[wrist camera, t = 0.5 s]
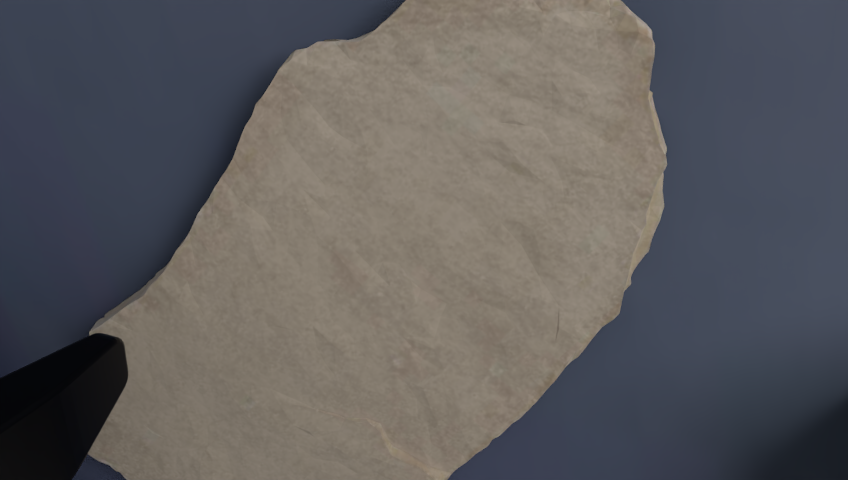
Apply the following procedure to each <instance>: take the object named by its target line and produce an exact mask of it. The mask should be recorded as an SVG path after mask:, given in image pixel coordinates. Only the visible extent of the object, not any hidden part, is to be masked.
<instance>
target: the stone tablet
mask: <svg viewBox="0 0 848 480" xmlns="http://www.w3.org/2000/svg"><path fill="white" fill-rule="evenodd" d="M654 52H655V44H654V42H653V39H652V30H651V29H650V28H649V27H648V26H647V25H646V23H644V22H643V21H642V20H641V19H640V18H639V17H637V16H636V15H635V14H634V13H633V12H632V11H631V10H630V9H629V8H628V7H627V6H626V5H625V4H624V3H623V2H622V1H621V0H405V1H404V2H403V4H402V5H401V6H400V7H399V8H398V9H397V10H396V11H395V12H394V13H393V14H392V15H391V16H390V17H389V18H388V19H387V20H385V21H384V22H383V23H381V24H380V25H379V27H378V28H377V29H376V30H374V31H372V32H370V33H367V34H365V35H363V36H361V37H358V38H355V39H351V40H337V39H334V40H324V42H316V43H315V44H313V45H311V46H310V47H308V48H303V49H300V50H295V51H294V52H293V53H292V54H291V55H290V56H289V57H288V59H287V60H286V61H285V62H284V64H283V65H282V66H281V67H280V69H279V70H278V72H277V74H276V75H275V77H274V79H273V81H272V82H271V84H270V85H269V87H268V89H267V90H266V92H265V93H264V95H263V96H262V98H261V99H260V100H259V101H258V102H257V103H256V105H255V108H254V111H253V114H252V117H251V118H250V120H249V121H248V123H247V124H246V126H245V127H244V130H243V132H242V135H241V138H240V140H239V143H238V145H237V148H236V151H235V154H234V156H233V159H232V161H231V163H230V164H229V166H228V168H227V170H226V171H225V173H224V174H223V175H222V177H221V178H220V180H219V182H218V183H217V185H216V186H215V188H214V189H213V191H212V193H211V195H210V197H209V199H208V200H207V202H206V203H205V204H204V206H203V207H202V209H201V210H200V211H199V213H198V214H197V217H196V219H195V221H194V224H193V226H192V228H191V230H190V232H189V234H188V236H187V237H186V238H185V239H184V241H183V242H182V243H181V244H180V246H179V247H178V249H177V250H176V252H175V254H174V255H173V257H172V258H171V260H170V261H169V263H168V264H167V265H166V266H165V267H164V268H163V269H161V270H160V271H159V272H158V273H156V275H155V277H154V278H153V279H151V280H150V281H148V282H147V284H146V285H145V286H144V287H143V288H142V289H140V290H139V291H138V292H136V293H135V294H133V295H132V296H131V297H129V298H128V299H126V300H125V301H123V302H122V303H121V304H119V305H118V306H117V307H115V308H114V309H112V310H111V311H109V312H108V313H106V314H105V316H104V318H101V319H99V320H98V321H97V322H96V323H95V325H94V326H93V328H92V329H91V330H90V332H89V336H90V335H92V334H95V333H104V334H108V335H111V336H115V337H119V338H121V339H122V341H123V342H124V345H125V352H126V358H127V365H128V380H127V383H126V386H125V388H124V390H123V392H122V394H121V395H120V397H119V399H118V401H117V402H116V404H115V406H114V408H113V410H112V411H111V413H110V415H109V417H108V418H107V420H106V422H105V424H104V426H103V427H102V429H101V431H100V433H99V435H98V436H97V438H96V440H95V442H94V443H93V445H92V447H91V449H90V451H89V452H88V455H90V456H91V457H93V458H95V459H96V460H98V461H99V462H102V463H105V464H108V465H110V466H111V467H112V468H113V469H114V470H115V471H117V472H120V473H121V474H122V475H123V477H124V478H126V479H127V480H447V479H448V478H449V477H450V475H451V474H452V473H453V472H454V471H455V470H456V469H457V468H459V467H460V466H462V465H463V464H465V463H466V462H467V461H469V460H470V459H471V458H472V457H473V456H474V455H475V454H476V453H478V452H479V451H481V450H483V449H484V448H486V447H487V446H488V445H489V444H490V442H491V441H492V439H494V438H496V437H498V436H500V435H501V434H502V433H503V432H504V431H505V430H506V429H507V428H508V427H509V426H510V425H511V424H512V423H514V422H515V421H517V420H518V419H520V418H521V417H522V416H523V415H524V414H525V413H526V412H527V411H528V410H529V409H530V408H531V407H532V406H533V405H534V404H535V403H536V402H537V401H538V399H539V398H540V397H541V396H542V395H543V393H544V392H545V391H546V390H547V389H548V388H549V387H550V386H551V385H552V383H553V382H554V381H555V380H556V379H557V378H558V376H559V375H560V374H561V372H562V371H563V370H564V368H565V367H566V366H567V365H568V364H569V363H570V362H571V361H573V360H574V359H576V358H577V357H579V355H580V354H581V353H582V352H583V350H584V349H585V348H586V346H587V345H588V344H589V342H590V341H591V340H592V338H593V337H594V336H595V335H596V334H597V332H598V331H599V330H600V329H601V327H603V326H604V325H606V324H607V323H609V322H610V321H612V320H613V319H614V318H615V317H616V316H617V315H618V314H619V313H620V308H621V303H622V298H623V293H624V291H625V290H626V289H627V288H628V287H629V286H630V284H631V275H632V273H633V271H634V269H635V268H636V266H637V265H638V263H639V262H640V261H641V259H642V258H643V257H644V256H645V254H646V253H648V252H649V248H650V245H651V240H652V237H653V235H654V232H655V230H656V228H657V225H658V223H659V221H660V219H661V214H662V211H663V208H664V200H663V193H662V188H663V177H664V175H663V171H664V169H665V168H666V165H667V160H666V156H665V155H666V152H667V147H666V144H665V141H664V138H663V135H662V132H661V127H660V123H659V119H658V116H657V113H656V110H655V106H654V102H653V98H652V94H653V93H652V92H651V91H650V90H649V88H650V81H651V71H652V65H653V61H654Z"/></svg>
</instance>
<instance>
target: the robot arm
mask: <svg viewBox="0 0 848 480" xmlns="http://www.w3.org/2000/svg"><path fill="white" fill-rule="evenodd" d="M127 380H128V365H127V358H126V352H125V345H124V342H123V341H122V339H121V338H119V337H115V336H111V335H108V334H104V333H95V334H92V335H90V336H87V337H85V338H83V339H81V340H79V341H77V342H75V343H73V344H71V345H69V346H67V347H64V348H62V349H60V350H58V351H56V352H54V353H52V354H50V355H48V356H46V357H43V358H41V359H39V360H37V361H35V362H33V363H31V364H29V365H27V366H25V367H23V368H20V369H18V370H16V371H14V372H12V373H10V374H8V375H6V376H4V377H2V378H0V480H72V478H73V477H74V475H75V474H76V472H77V471H78V469H79V468H80V466H81V464H82V463H83V461H84V459H85V458H86V456H87V454H88V452H89V451H90V449H91V447H92V445H93V443H94V442H95V440H96V438H97V436H98V435H99V433H100V431H101V429H102V427H103V426H104V424H105V422H106V420H107V418H108V417H109V415H110V413H111V411H112V410H113V408H114V406H115V404H116V402H117V401H118V399H119V397H120V395H121V394H122V392H123V390H124V388H125V386H126V383H127Z"/></svg>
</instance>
